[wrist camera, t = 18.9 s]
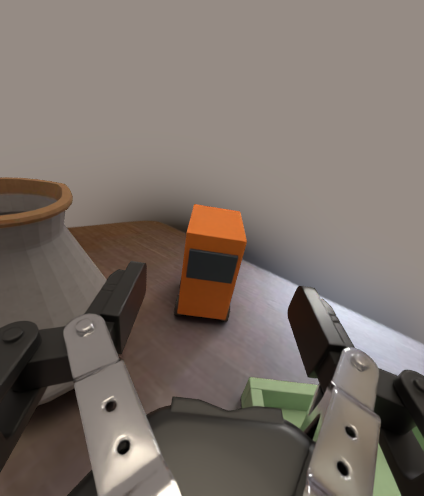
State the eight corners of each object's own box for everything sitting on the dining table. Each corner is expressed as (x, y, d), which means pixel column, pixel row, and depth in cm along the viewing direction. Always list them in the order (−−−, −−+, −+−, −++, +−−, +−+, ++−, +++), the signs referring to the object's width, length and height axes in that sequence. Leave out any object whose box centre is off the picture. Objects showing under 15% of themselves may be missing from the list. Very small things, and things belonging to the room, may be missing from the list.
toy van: (181, 280, 29) (191, 203, 24) (225, 286, 29) (243, 211, 24) (172, 323, 23) (182, 233, 18) (226, 329, 23) (251, 244, 18)
